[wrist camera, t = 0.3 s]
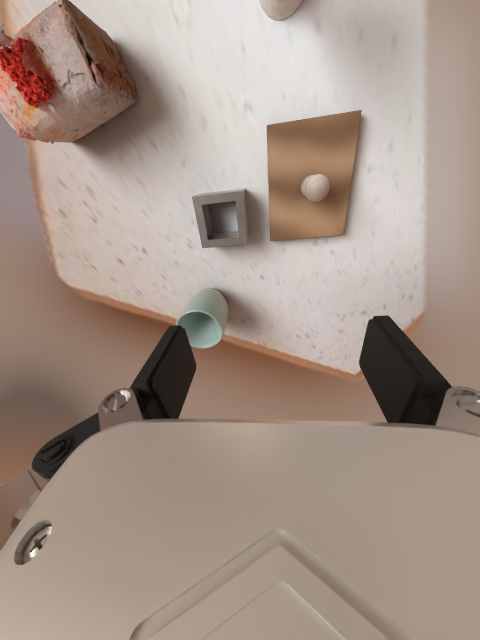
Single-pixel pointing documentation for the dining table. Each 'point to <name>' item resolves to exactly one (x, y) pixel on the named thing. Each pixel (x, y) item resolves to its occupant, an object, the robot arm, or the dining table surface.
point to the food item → (61, 76)
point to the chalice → (280, 8)
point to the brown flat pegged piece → (311, 175)
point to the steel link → (205, 221)
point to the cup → (204, 318)
